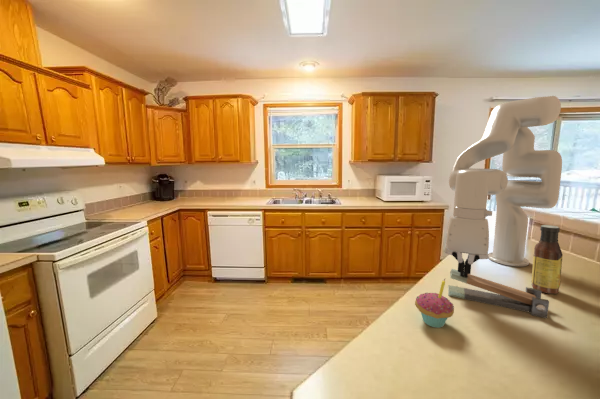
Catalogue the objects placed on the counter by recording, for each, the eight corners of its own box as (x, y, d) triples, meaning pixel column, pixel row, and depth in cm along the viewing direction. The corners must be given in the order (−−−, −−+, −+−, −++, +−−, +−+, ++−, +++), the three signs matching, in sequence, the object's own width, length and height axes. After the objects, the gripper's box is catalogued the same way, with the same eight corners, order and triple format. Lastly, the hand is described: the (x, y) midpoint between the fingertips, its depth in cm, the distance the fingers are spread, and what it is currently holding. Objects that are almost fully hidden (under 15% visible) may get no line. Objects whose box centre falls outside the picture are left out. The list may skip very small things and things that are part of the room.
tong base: (448, 286, 81) (449, 273, 80) (537, 303, 70) (539, 288, 70) (448, 298, 74) (449, 284, 73) (547, 319, 63) (550, 302, 63)
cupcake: (448, 315, 66) (451, 271, 64) (456, 336, 58) (460, 287, 57) (412, 309, 69) (414, 268, 67) (416, 329, 61) (418, 282, 59)
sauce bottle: (564, 295, 74) (573, 229, 71) (539, 294, 75) (547, 229, 72) (547, 285, 80) (555, 224, 77) (525, 283, 82) (531, 223, 79)
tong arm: (450, 272, 78) (451, 268, 78) (532, 299, 69) (534, 294, 69) (450, 278, 75) (451, 273, 74) (537, 307, 66) (539, 302, 65)
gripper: (499, 213, 71) (493, 275, 74) (439, 209, 79) (435, 265, 81) (505, 218, 65) (498, 286, 67) (438, 213, 72) (434, 274, 75)
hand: (463, 275), depth 74 cm, fingers closed
